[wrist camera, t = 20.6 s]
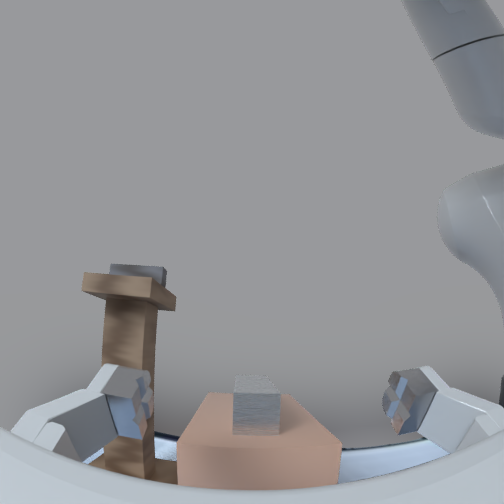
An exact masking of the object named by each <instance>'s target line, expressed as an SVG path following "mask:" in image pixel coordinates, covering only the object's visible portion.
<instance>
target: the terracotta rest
mask: <svg viewBox="0 0 504 504" xmlns="http://www.w3.org/2000/svg"><path fill="white" fill-rule="evenodd" d="M232 428H233V394H231V393H214V392H209V393H208V394H207V396H206V397H205V399H204V401H203V402H202V404H201V406H200V407H199V409H198V410H197V412H196V413H195V415H194V417H193V418H192V420H191V422H190V423H189V424H188V426H187V427H186V429H185V431H184V432H183V434H182V436H181V437H180V438H179V440H178V441H177V475H178V485H182V486H190V487H200V488H211V489H226V490H283V489H298V488H310V487H319V486H327V485H334V484H337V483H338V476H339V468H340V460H341V450H342V442H340V441H339V440H338V439H337V438H336V437H335V436H334V435H333V434H332V433H330V432H329V431H328V430H327V429H326V428H325V427H324V426H323V425H322V424H320V423H319V422H318V421H317V420H316V419H315V418H314V417H313V416H312V415H311V414H310V413H308V412H307V411H306V410H305V409H304V408H303V407H302V406H301V405H300V404H299V403H298V402H297V401H296V400H295V399H294V398H292V396H291V395H290V394H281V403H280V425H279V436H245V435H232Z"/></svg>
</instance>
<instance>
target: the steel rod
mask: <svg viewBox="0 0 504 504" xmlns="http://www.w3.org/2000/svg"><path fill="white" fill-rule="evenodd" d="M280 403H281V393H280V392H279V391H278V390H277V388H276V387H275V386H274V385H273V383H272V382H271V381H270V380H269V379H268V377H267V376H252V375H236V378H235V385H234V393H233V428H232V435H245V436H279V425H280Z"/></svg>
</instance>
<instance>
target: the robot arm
mask: <svg viewBox="0 0 504 504" xmlns="http://www.w3.org/2000/svg"><path fill="white" fill-rule="evenodd" d="M401 1H402V3H403V6H404V8H405V10H406V12H407V14H408V16H409V18H410V20H411V22H412V24H413V26H414V27H415V29H416V31H417V33H418V35H419V37H420V39H421V40H422V43H423V44H424V46H425V48H426V50H427V52H428V53H429V55H430V57H431V59H432V60H433V63H434V65H435V66H436V68H437V70H438V72H439V74H440V76H441V78H442V79H443V82H444V84H445V86H446V88H447V90H448V92H449V94H450V96H451V99H452V101H453V103H454V106H455V108H456V110H457V112H458V114H459V116H460V117H461V119H462V120H463V121H464V122H465V123H466V124H467V125H468V126H469V127H470V128H472V129H473V130H475V131H477V132H480V133H483V134H486V135H489V136H492V137H497V138H500V139H504V28H503V26H502V24H501V23H500V21H499V20H498V18H497V17H496V15H495V14H494V12H493V11H492V9H491V8H490V7H489V5H488V4H487V2H486V1H485V0H401ZM437 221H438V228H439V232H440V234H441V237H442V239H443V242H444V244H445V245H446V247H447V248H448V250H449V251H450V252H451V253H452V254H453V255H454V256H455V257H456V258H457V259H459V260H460V261H462V262H464V263H465V264H468V265H469V266H470V267H472V268H473V269H475V270H476V271H477V272H478V273H479V274H480V275H481V276H482V277H483V278H484V279H485V280H486V281H487V283H488V284H489V285H490V287H491V288H492V290H493V292H494V294H495V296H496V298H497V300H498V303H499V306H500V309H501V313H502V318H503V325H504V164H503V165H500V166H496V167H493V168H489V169H486V170H482V171H479V172H476V173H472V174H470V175H468V176H466V177H464V178H462V179H461V180H459V181H457V182H455V183H454V184H452V185H450V186H448V187H447V188H445V189H444V190H443V192H442V195H441V197H440V200H439V204H438V212H437ZM150 382H151V378H150V373H149V371H148V370H142V369H136V368H131V367H125V366H119V365H114V364H109V363H107V364H104V365H103V366H102V368H101V370H100V371H99V372H98V373H97V375H96V376H95V378H94V379H93V380H92V382H91V383H90V385H89V386H88V388H87V389H86V390H85V389H80V390H78V391H76V392H73V393H71V394H69V395H66V396H63V397H61V398H58V399H56V400H53V401H51V402H48V403H46V404H43V405H41V406H38V407H35V408H33V409H30V410H27V411H26V413H25V414H24V415H23V416H22V417H21V419H20V420H19V421H18V422H17V424H16V425H15V426H14V427H13V429H12V430H11V431H10V432H9V431H7V430H6V429H4V428H2V427H0V504H504V376H503V377H502V381H501V386H500V400H499V405H498V404H495V403H493V402H490V401H487V400H484V399H482V398H479V397H476V396H473V395H471V394H468V393H466V392H463V391H460V390H458V389H455V388H450V387H449V386H448V385H447V384H446V383H445V382H444V381H443V380H442V379H441V378H440V377H439V375H438V374H437V373H436V372H435V371H434V370H433V369H432V368H431V367H429V366H424V367H418V368H415V369H409V370H402V371H395V372H393V373H392V374H391V375H390V378H389V381H388V382H389V384H390V386H389V387H388V389H387V390H386V391H385V392H384V396H383V405H382V406H383V409H384V412H385V414H386V415H387V416H389V417H390V418H392V421H391V424H392V426H393V428H394V430H395V431H396V433H397V435H401V434H406V433H411V432H415V431H418V433H420V434H421V435H423V436H424V437H426V438H427V439H429V440H430V441H432V442H433V443H435V444H436V445H438V446H439V447H441V448H442V449H444V450H445V451H447V452H449V453H450V454H449V455H446V456H443V457H441V458H438V459H435V460H432V461H429V462H426V463H423V464H420V465H417V466H414V467H411V468H407V469H404V470H400V471H397V472H393V473H389V474H385V475H381V476H377V477H372V478H368V479H363V480H358V481H353V482H347V483H341V484H334V485H327V486H319V487H310V488H298V489H283V490H226V489H211V488H200V487H190V486H182V485H175V484H168V483H162V482H157V481H151V480H146V479H141V478H137V477H132V476H128V475H124V474H120V473H116V472H112V471H108V470H105V469H101V468H98V467H95V466H91V465H88V464H85V463H82V462H83V461H84V460H86V459H87V458H88V457H90V456H91V455H93V454H94V453H96V452H97V451H98V450H100V449H101V448H103V447H104V446H105V445H107V444H108V443H110V442H111V441H112V440H114V439H115V438H117V437H118V435H119V436H124V437H130V438H135V439H141V440H142V439H143V437H144V434H145V431H146V429H147V422H146V420H147V419H148V418H150V417H151V415H152V412H153V406H154V396H153V391H152V390H151V389H150V388H149V384H150Z"/></svg>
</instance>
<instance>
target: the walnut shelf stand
mask: <svg viewBox="0 0 504 504" xmlns="http://www.w3.org/2000/svg"><path fill="white" fill-rule="evenodd" d="M166 275H167V271H166V269H164V267H157V266H156V267H155V266H140V265H122V264H111V266H110V273H109V274H98V273H86V272H85V273H84V277H83V284H82V291H84V292H86V293H89V294H91V295H94V296H96V297H99V298H101V299H104V300H106V307H105V318H104V331H103V346H102V347H103V348H102V366H103V365H104V364H107V363H109V364H114V365H119V366H125V367H131V368H136V369H142V370H148V371H149V373H150V378H151V382H150V384H149V388H150V389H151V390H152V391H153V396H154V367H155V344H156V327H157V313H158V310H166V311H175V306H176V305H175V304H176V296H175V295H173V294H172V293H171V292H170V291H168V290H167V289H166V288H165V285H166ZM146 422H147V429H146V431H145V434H144V437H143V439H142V440H141V439H135V438H130V437H124V436H119V435H118V437H117V438H115V439H114V440H112V441H111V442H110V443H108V444H107V445H105V446H104V453H103V454H102V455H101V456H99V457H98V458H97V459H95V460H94V461H92V462H91V463H89V464H88V465H91V466H95V467H98V468H101V469H105V470H108V471H112V472H116V473H120V474H124V475H128V476H132V477H137V478H141V479H146V480H151V481H157V482H162V483H168V484H175V485H178V475H177V462H176V461H169V460H163V459H157V458H155V447H154V406H153V412H152V415H151V417H150V418H148V419H147V420H146Z"/></svg>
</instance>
